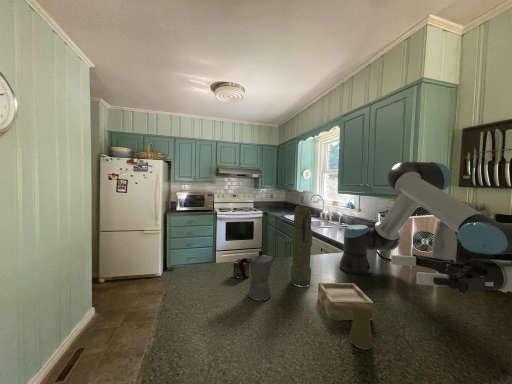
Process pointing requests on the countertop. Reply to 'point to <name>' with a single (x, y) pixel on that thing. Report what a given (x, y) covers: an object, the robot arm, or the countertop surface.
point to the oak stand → (341, 299)
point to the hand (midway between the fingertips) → (402, 267)
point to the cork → (361, 325)
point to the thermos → (301, 246)
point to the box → (237, 269)
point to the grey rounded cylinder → (444, 242)
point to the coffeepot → (258, 275)
